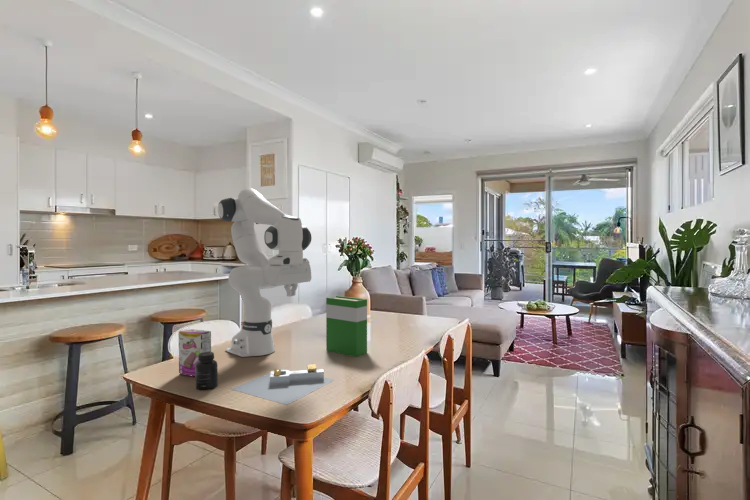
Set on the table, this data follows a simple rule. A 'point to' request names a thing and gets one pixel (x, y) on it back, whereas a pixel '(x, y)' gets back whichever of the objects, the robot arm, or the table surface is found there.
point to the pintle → (277, 372)
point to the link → (296, 376)
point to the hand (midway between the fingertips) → (291, 296)
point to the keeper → (311, 367)
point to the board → (280, 389)
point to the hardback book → (346, 325)
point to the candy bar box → (192, 348)
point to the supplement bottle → (206, 372)
